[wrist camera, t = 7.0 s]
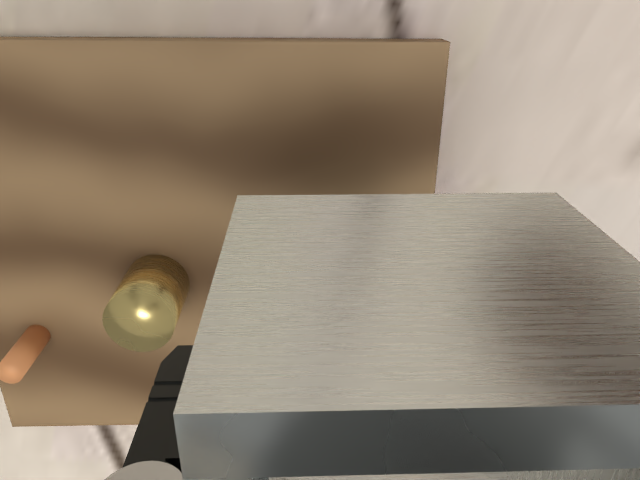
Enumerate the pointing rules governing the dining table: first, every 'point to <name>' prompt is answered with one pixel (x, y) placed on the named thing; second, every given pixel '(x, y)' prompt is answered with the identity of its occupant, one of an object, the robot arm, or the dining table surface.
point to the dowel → (23, 354)
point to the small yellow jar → (147, 304)
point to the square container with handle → (414, 343)
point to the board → (177, 178)
